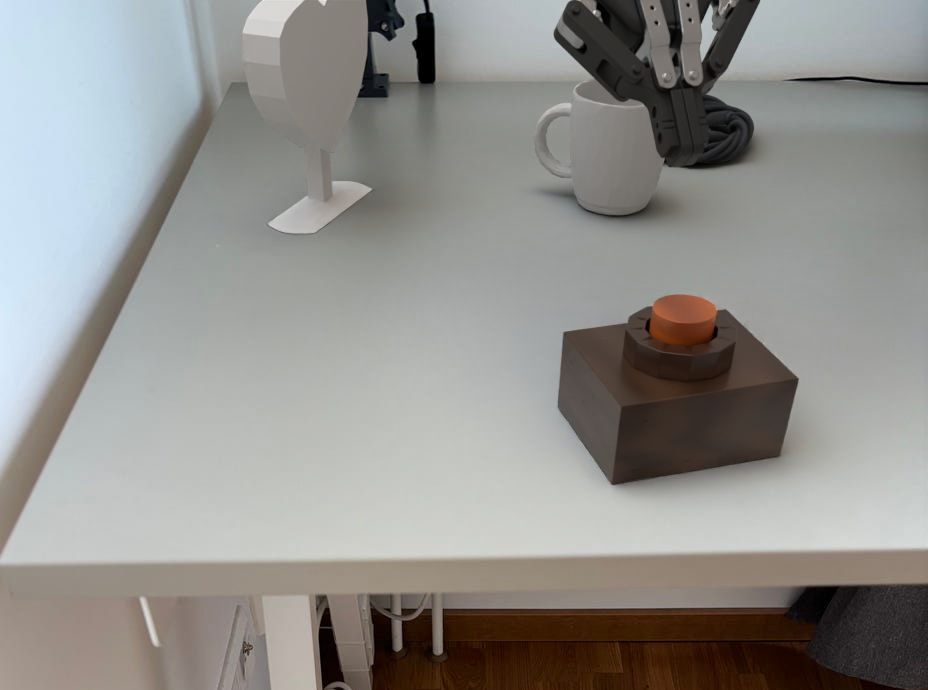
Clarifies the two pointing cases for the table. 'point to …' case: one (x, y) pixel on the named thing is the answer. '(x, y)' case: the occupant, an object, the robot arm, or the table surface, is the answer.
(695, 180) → the table surface
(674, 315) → the button
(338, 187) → the heart sculpture
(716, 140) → the cable
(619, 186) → the mug
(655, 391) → the control block
